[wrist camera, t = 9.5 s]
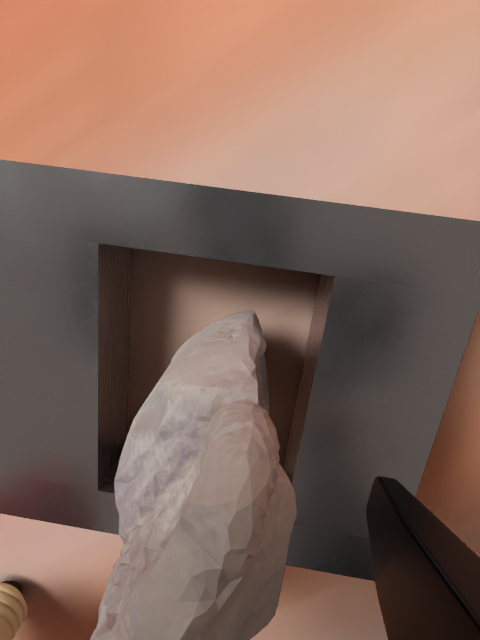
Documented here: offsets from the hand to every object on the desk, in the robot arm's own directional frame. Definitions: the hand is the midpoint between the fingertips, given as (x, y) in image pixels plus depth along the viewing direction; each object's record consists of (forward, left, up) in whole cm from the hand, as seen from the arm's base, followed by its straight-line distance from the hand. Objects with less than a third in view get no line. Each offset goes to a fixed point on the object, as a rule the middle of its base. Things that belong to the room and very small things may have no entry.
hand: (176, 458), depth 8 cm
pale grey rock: (0, -1, -6) cm, 6 cm away
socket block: (0, 0, -5) cm, 5 cm away
